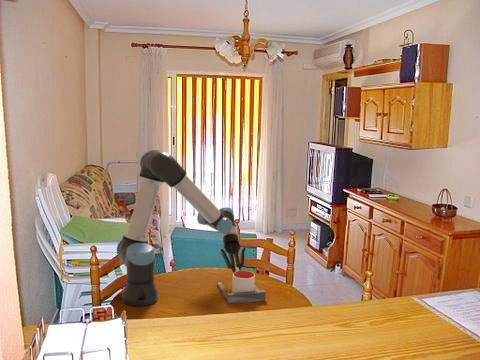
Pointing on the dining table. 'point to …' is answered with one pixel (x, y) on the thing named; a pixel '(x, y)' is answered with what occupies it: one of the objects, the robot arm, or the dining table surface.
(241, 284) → the cup
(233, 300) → the grey tray
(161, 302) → the dining table surface
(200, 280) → the dining table surface
